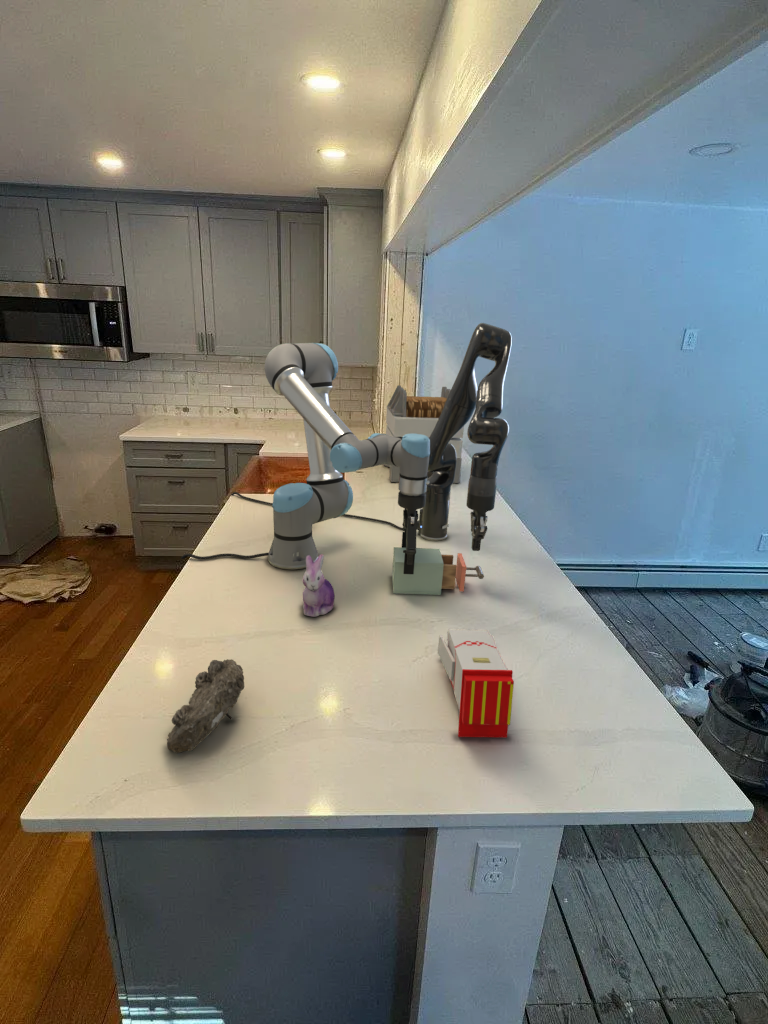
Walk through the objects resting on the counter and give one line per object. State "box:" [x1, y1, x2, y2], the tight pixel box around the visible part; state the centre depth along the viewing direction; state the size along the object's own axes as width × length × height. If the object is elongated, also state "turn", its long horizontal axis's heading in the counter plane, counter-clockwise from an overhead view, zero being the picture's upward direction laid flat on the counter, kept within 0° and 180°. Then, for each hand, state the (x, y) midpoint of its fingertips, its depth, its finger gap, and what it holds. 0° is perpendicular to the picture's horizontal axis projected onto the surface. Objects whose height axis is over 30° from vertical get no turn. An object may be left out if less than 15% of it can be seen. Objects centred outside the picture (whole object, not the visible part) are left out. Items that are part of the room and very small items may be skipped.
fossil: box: [166, 658, 245, 754], centre depth 106 cm, size 22×10×15 cm
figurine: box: [302, 554, 336, 617], centre depth 145 cm, size 9×10×15 cm
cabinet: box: [391, 546, 444, 596], centre depth 161 cm, size 13×10×10 cm
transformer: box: [383, 384, 465, 484], centre depth 268 cm, size 34×33×41 cm
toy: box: [437, 628, 515, 738], centre depth 117 cm, size 12×13×30 cm
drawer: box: [441, 552, 485, 593], centre depth 162 cm, size 18×9×8 cm, turn 91°
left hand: (407, 562), depth 161 cm, fingers open, 13 cm apart
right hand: (475, 549), depth 159 cm, fingers closed
